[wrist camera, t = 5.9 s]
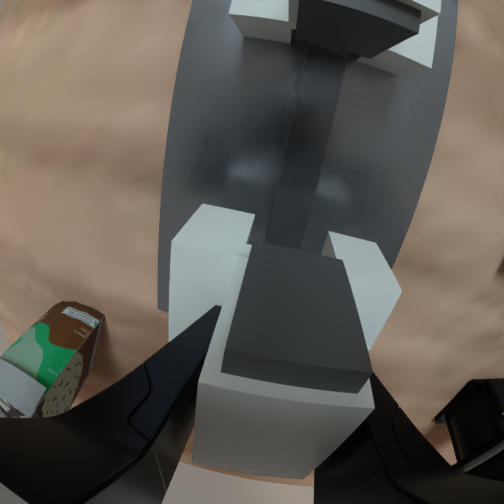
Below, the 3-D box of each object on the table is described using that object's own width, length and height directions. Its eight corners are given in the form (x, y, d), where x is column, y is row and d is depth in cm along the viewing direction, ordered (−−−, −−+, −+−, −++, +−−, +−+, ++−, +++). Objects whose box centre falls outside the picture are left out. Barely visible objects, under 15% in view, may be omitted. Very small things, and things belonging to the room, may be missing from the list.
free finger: (342, 321, 13) (364, 479, 6) (193, 289, 13) (124, 440, 6) (381, 229, 11) (469, 388, 4) (204, 188, 11) (85, 321, 4)
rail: (349, 342, 17) (355, 373, 15) (161, 303, 17) (145, 330, 15) (452, -12, 7) (476, -25, 5) (220, -71, 7) (207, -96, 5)
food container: (43, 256, 17) (-49, 342, 8) (108, 301, 18) (29, 415, 9) (40, 345, 23) (-10, 415, 14) (88, 379, 24) (45, 457, 15)
